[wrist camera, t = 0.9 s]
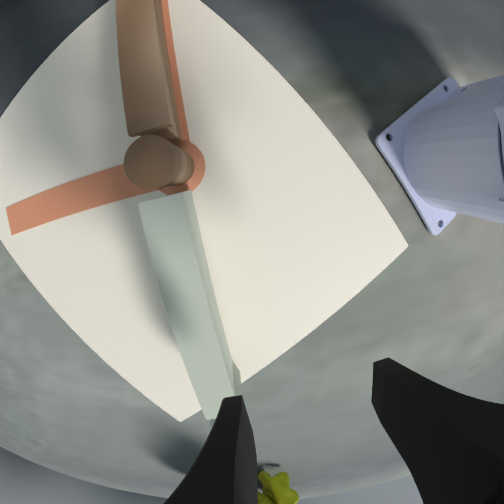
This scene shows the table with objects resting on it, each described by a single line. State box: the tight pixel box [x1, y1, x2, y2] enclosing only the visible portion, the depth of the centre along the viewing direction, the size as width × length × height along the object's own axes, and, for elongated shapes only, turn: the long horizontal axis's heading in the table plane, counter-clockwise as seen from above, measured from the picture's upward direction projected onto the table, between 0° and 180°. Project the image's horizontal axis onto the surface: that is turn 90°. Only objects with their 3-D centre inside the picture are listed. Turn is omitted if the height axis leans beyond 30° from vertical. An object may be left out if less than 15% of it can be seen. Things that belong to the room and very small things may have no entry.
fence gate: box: [138, 190, 242, 430], centre depth 15 cm, size 2×13×5 cm, turn 10°
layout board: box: [0, 0, 408, 422], centre depth 16 cm, size 21×26×1 cm
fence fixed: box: [116, 0, 194, 189], centre depth 11 cm, size 2×15×6 cm, turn 11°
